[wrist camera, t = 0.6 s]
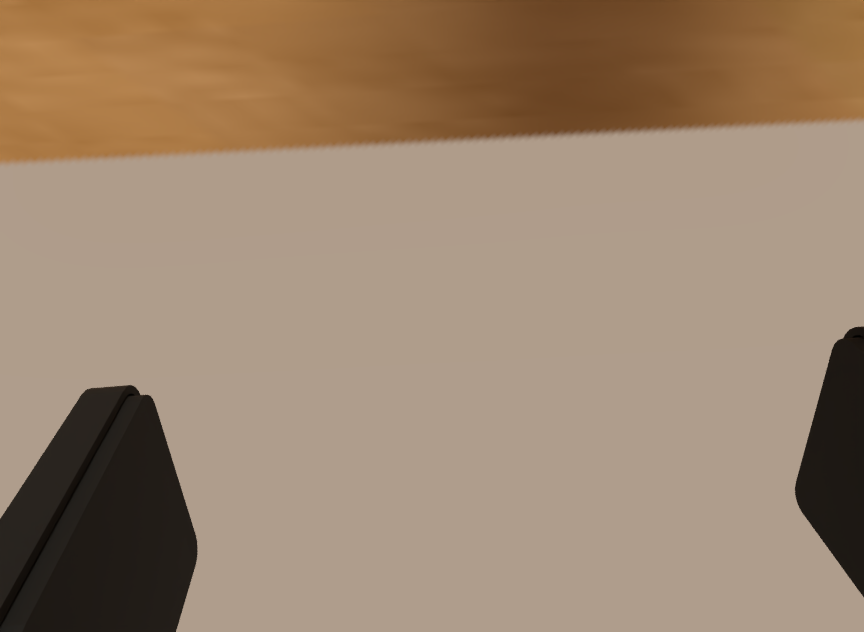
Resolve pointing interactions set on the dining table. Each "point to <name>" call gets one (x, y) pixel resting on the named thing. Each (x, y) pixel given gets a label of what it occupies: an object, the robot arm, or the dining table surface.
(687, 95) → the dining table surface
